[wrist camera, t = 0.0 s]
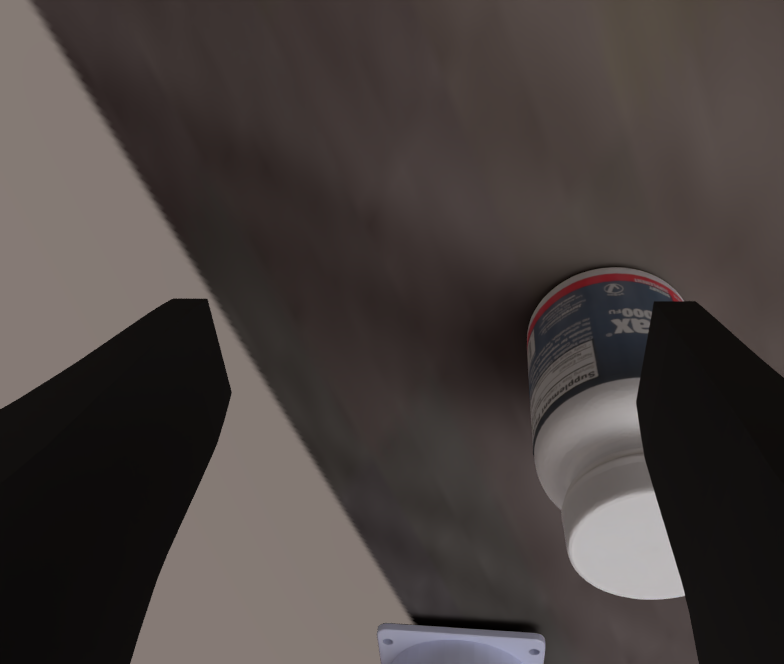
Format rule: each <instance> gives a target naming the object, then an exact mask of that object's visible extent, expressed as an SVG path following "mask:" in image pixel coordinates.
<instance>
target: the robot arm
mask: <svg viewBox="0 0 784 664" xmlns="http://www.w3.org/2000/svg"><path fill="white" fill-rule="evenodd" d="M230 397H231V388H230V385H229V381H228V377H227V373H226V369H225V365H224V361H223V358H222V354H221V350H220V346H219V342H218V338H217V334H216V330H215V327H214V323H213V319H212V315H211V311H210V307H209V303H208V300H207V299H171V300H170V301H168V302H166V303H164V304H163V305H161V306H160V307H158V308H156V309H155V310H153V311H151V312H150V313H148V314H147V315H145V316H144V317H142V318H141V319H140V320H138V321H137V322H135V323H134V324H132V325H131V326H129V327H128V328H126V329H125V330H123V331H122V332H120V333H119V334H118V335H116V336H115V337H113V338H112V339H110V340H109V341H107V342H106V343H104V344H103V345H102V346H100V347H99V348H97V349H96V350H94V351H93V352H91V353H90V354H88V355H87V356H85V357H84V358H82V359H81V360H79V361H78V362H76V363H75V364H73V365H72V366H70V367H69V368H67V369H66V370H64V371H62V372H61V373H59V374H58V375H56V376H54V377H53V378H51V379H50V380H48V381H47V382H45V383H43V384H42V385H40V386H38V387H37V388H35V389H34V390H32V391H31V392H29V393H28V394H26V395H24V396H23V397H21V398H19V399H18V400H16V401H14V402H12V403H11V404H9V405H7V406H5V407H4V408H2V409H0V664H130V662H131V659H132V656H133V652H134V649H135V646H136V642H137V639H138V635H139V633H140V630H141V626H142V623H143V620H144V617H145V614H146V611H147V608H148V605H149V602H150V599H151V596H152V593H153V590H154V587H155V584H156V581H157V578H158V576H159V573H160V571H161V568H162V566H163V564H164V561H165V559H166V556H167V554H168V551H169V549H170V547H171V545H172V543H173V540H174V538H175V536H176V534H177V532H178V529H179V527H180V525H181V523H182V520H183V519H184V516H185V514H186V512H187V510H188V507H189V505H190V503H191V501H192V499H193V497H194V495H195V492H196V490H197V488H198V486H199V484H200V481H201V479H202V477H203V475H204V472H205V470H206V468H207V466H208V463H209V461H210V459H211V457H212V454H213V452H214V450H215V447H216V445H217V442H218V439H219V436H220V433H221V429H222V426H223V423H224V419H225V416H226V412H227V408H228V405H229V401H230ZM636 406H637V413H638V420H639V427H640V434H641V440H642V446H643V452H644V458H645V461H646V465H647V468H648V472H649V475H650V479H651V482H652V485H653V489H654V492H655V495H656V499H657V502H658V506H659V509H660V512H661V515H662V519H663V522H664V525H665V529H666V532H667V535H668V538H669V542H670V545H671V548H672V552H673V555H674V558H675V562H676V565H677V568H678V572H679V575H680V578H681V581H682V585H683V589H684V593H685V597H686V601H687V605H688V609H689V613H690V618H691V624H692V629H693V634H694V640H695V645H696V650H697V656H698V661H699V664H784V378H783V377H782V376H781V375H780V374H778V373H777V372H776V371H775V370H774V369H772V368H771V367H770V366H769V365H768V364H766V363H765V362H764V361H763V360H762V359H761V358H759V357H758V356H757V355H756V354H755V353H754V352H753V351H751V350H750V349H749V348H748V347H747V346H746V345H745V344H743V343H742V342H741V341H740V340H739V339H738V338H737V337H736V336H734V335H733V334H732V333H731V332H730V331H729V330H728V329H727V328H726V327H724V326H723V325H722V324H721V323H720V322H719V321H718V320H717V319H715V318H714V317H713V316H712V315H711V314H710V313H709V312H708V311H706V310H705V309H704V308H703V307H702V306H700V305H699V304H698V303H697V302H695V301H654V304H653V309H652V315H651V320H650V326H649V332H648V337H647V343H646V348H645V354H644V360H643V365H642V371H641V377H640V382H639V388H638V393H637V399H636ZM377 637H378V644H379V652H380V659H381V664H544V655H545V638H544V637H543V636H542V635H541V634H538V633H529V632H514V631H499V630H484V629H469V628H454V627H439V626H423V625H408V624H393V623H383V624H381V625H379V626H378V631H377Z"/></svg>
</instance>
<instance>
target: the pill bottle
mask: <svg viewBox="0 0 784 664" xmlns="http://www.w3.org/2000/svg"><path fill="white" fill-rule="evenodd" d="M654 301H684V300H683V299H682V297H681V296H680V295H679V294H678V293H677V291H676V290H675V289H674V288H673V287H671V286H670V285H669V284H668V283H666V282H665V281H663V280H662V279H660V278H658V277H656V276H654V275H652V274H650V273H647V272H644V271H640V270H636V269H631V268H623V267H609V268H599V269H594V270H590V271H587V272H583V273H580V274H577V275H575V276H573V277H571V278H569V279H567V280H565V281H564V282H562V283H560V284H559V285H558V286H556V287H555V288H554V289H552V290H551V291H550V292H549V293H548V294H547V295H546V296H545V297H544V298H543V299H542V301H541V302H540V303H539V305H538V306H537V308H536V309H535V311H534V313H533V315H532V317H531V320H530V323H529V327H528V332H527V356H528V376H529V394H530V410H531V425H532V439H533V455H534V461H535V466H536V471H537V475H538V478H539V480H540V483H541V485H542V487H543V489H544V491H545V492H546V494H547V495H548V497H549V498H550V499H551V500H552V502H553V503H554V504H555V505H556V506H557V507H558V508H559V509H560V510H562V512H561V516H562V523H563V527H564V534H565V541H566V548H567V552H568V556H569V559H570V562H571V564H572V565H573V567H574V569H575V570H576V571H577V572H578V574H579V575H580V576H581V577H583V578H584V579H585V580H586V581H587V582H589V583H591V584H592V585H593V586H595V587H597V588H599V589H601V590H603V591H606V592H609V593H611V594H614V595H618V596H623V597H628V598H634V599H647V600H650V599H654V600H655V599H668V598H676V597H681V596H685V593H684V589H683V585H682V581H681V578H680V575H679V572H678V568H677V565H676V562H675V558H674V555H673V552H672V548H671V545H670V542H669V538H668V535H667V532H666V529H665V525H664V522H663V519H662V515H661V512H660V509H659V506H658V502H657V499H656V495H655V492H654V489H653V485H652V482H651V479H650V475H649V472H648V468H647V465H646V461H645V458H644V452H643V446H642V440H641V434H640V427H639V420H638V413H637V406H636V399H637V393H638V388H639V382H640V377H641V371H642V365H643V360H644V354H645V348H646V343H647V337H648V332H649V326H650V320H651V315H652V309H653V304H654Z"/></svg>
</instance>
